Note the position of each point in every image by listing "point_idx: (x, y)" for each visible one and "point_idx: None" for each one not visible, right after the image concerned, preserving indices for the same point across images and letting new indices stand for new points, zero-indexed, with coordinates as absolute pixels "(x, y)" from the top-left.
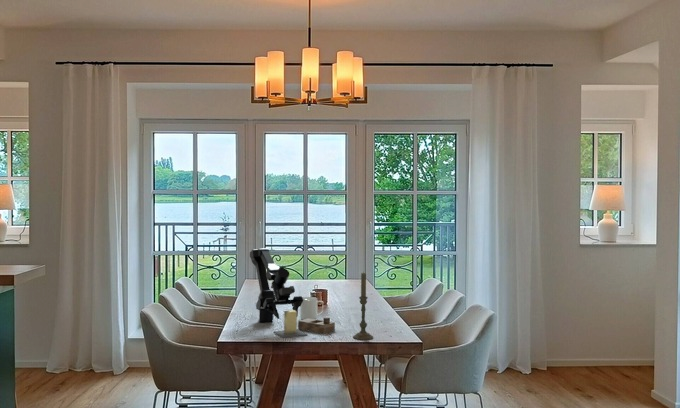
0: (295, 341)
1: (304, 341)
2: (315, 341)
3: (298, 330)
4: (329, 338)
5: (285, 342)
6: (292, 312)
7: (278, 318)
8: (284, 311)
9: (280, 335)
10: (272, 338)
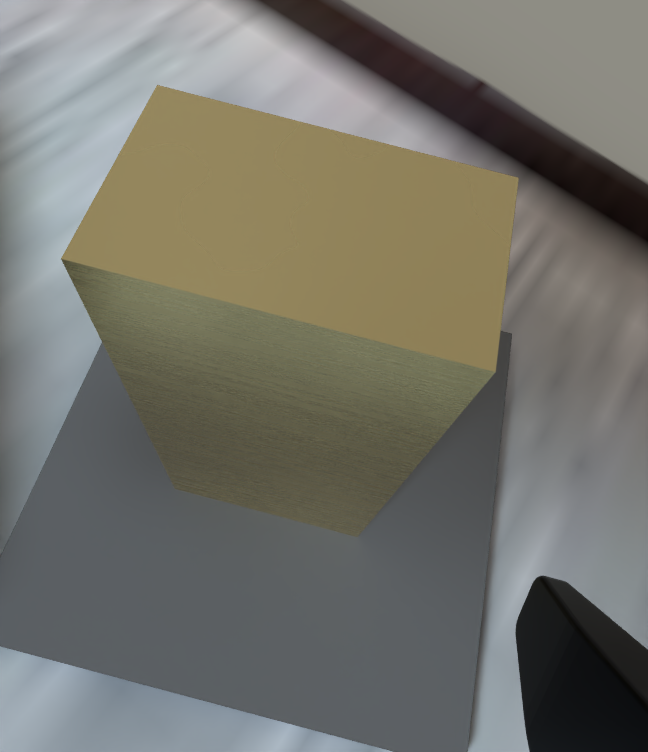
0: (460, 150)
1: (380, 100)
2: (289, 42)
3: (41, 520)
4: (78, 32)
5: (576, 183)
6: (309, 143)
7: (539, 606)
8: (496, 354)
9: (501, 424)
10: (637, 418)
